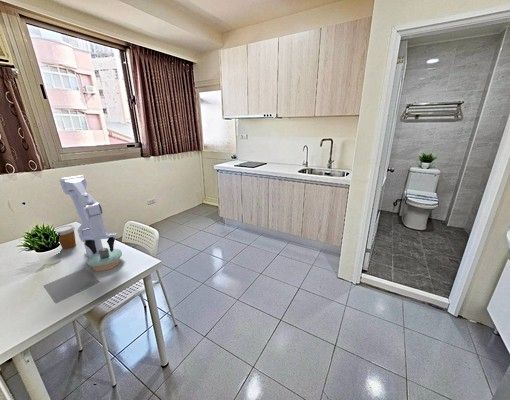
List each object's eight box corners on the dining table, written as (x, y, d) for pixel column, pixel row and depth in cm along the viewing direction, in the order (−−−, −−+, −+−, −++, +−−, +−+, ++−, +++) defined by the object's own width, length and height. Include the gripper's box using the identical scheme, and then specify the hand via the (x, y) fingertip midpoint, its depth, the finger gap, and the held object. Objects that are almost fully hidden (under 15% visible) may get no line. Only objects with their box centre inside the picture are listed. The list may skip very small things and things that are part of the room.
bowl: (89, 265, 114) (87, 259, 113) (114, 255, 123) (112, 248, 122) (98, 274, 108) (96, 267, 106) (124, 262, 117) (123, 256, 115)
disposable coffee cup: (55, 248, 130) (49, 230, 127) (73, 241, 139) (68, 223, 135) (64, 252, 127) (58, 233, 123) (82, 244, 135) (77, 226, 131)
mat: (43, 286, 100) (43, 285, 100) (85, 268, 112) (85, 267, 112) (56, 304, 90) (55, 303, 90) (100, 282, 102) (100, 281, 102)
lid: (82, 259, 113) (80, 251, 111) (114, 246, 124) (112, 239, 123) (94, 270, 104) (91, 262, 103) (127, 255, 116) (125, 248, 114)
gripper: (76, 233, 103) (83, 258, 108) (111, 229, 107) (117, 254, 111) (83, 226, 110) (90, 250, 114) (115, 223, 113) (121, 246, 118)
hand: (103, 251), depth 113 cm, fingers open, 7 cm apart
